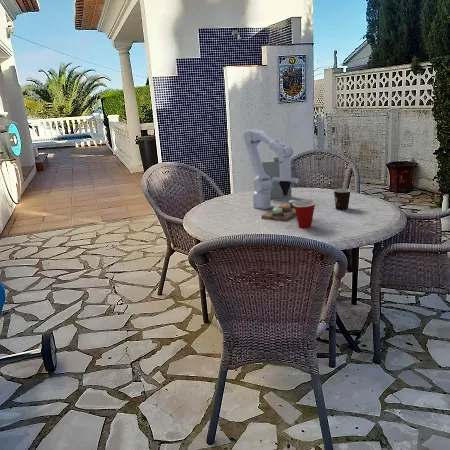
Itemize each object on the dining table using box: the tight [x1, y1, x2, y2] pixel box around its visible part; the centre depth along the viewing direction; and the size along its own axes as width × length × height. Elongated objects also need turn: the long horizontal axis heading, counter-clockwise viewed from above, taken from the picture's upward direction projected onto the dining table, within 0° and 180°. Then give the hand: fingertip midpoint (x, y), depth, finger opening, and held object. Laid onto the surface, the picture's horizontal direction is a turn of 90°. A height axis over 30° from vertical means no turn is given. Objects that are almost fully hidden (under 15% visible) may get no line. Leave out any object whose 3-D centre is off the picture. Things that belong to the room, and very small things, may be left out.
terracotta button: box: [280, 203, 290, 210], centre depth 225 cm, size 5×5×2 cm
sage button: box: [272, 207, 282, 214], centre depth 218 cm, size 5×5×2 cm
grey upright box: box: [261, 156, 292, 199], centre depth 260 cm, size 17×5×25 cm, turn 81°
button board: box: [261, 205, 297, 222], centre depth 226 cm, size 14×27×2 cm, turn 145°
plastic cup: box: [293, 199, 317, 229], centre depth 200 cm, size 11×11×12 cm
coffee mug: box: [333, 188, 352, 211], centre depth 228 cm, size 12×9×10 cm
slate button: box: [288, 199, 298, 206], centre depth 232 cm, size 5×5×2 cm
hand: (285, 195), depth 225 cm, fingers closed
